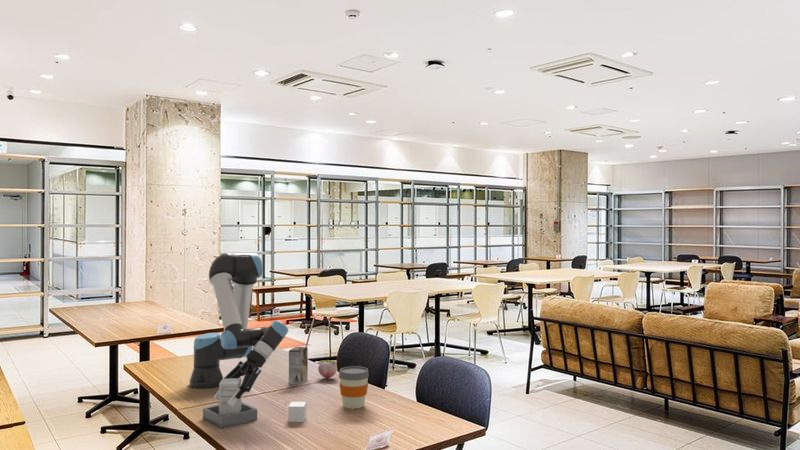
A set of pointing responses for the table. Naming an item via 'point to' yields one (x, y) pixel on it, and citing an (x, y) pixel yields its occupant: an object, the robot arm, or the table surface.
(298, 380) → the coffee box
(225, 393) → the supplement box
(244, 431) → the table surface
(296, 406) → the white cube
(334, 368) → the decorative fruit
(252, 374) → the robot arm
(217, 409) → the tray
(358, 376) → the reusable coffee cup
